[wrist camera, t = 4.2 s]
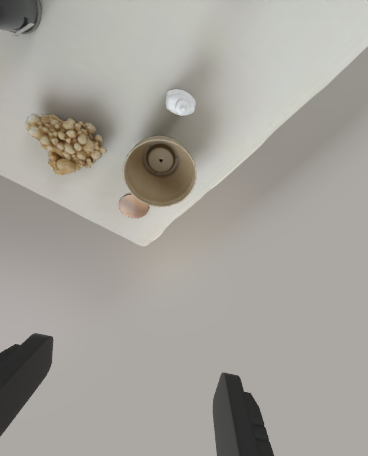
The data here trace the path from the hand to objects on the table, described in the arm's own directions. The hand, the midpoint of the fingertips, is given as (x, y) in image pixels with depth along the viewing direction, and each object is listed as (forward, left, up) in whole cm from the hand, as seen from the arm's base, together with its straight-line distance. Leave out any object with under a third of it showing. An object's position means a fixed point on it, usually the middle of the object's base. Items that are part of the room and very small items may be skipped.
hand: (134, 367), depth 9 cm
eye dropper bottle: (-5, +4, -47) cm, 48 cm away
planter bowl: (+9, +3, -47) cm, 48 cm away
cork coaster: (+26, -2, -47) cm, 54 cm away
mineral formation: (+10, -17, -47) cm, 51 cm away
